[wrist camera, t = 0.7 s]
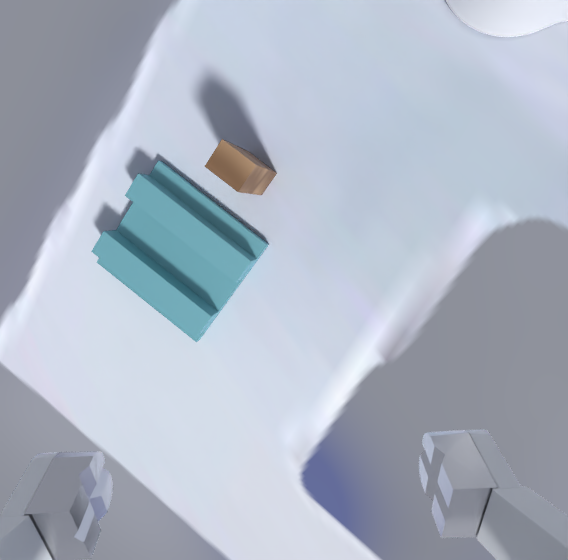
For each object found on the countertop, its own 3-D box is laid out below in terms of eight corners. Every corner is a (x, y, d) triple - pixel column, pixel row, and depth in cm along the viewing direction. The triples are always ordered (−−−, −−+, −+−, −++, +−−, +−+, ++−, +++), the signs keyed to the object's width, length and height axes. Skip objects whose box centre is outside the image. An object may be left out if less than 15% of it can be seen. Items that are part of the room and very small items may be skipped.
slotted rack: (162, 161, 50) (147, 158, 46) (268, 244, 49) (261, 246, 45) (101, 261, 53) (83, 264, 50) (199, 339, 52) (188, 348, 49)
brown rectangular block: (248, 151, 47) (222, 138, 39) (276, 173, 47) (256, 165, 38) (234, 174, 48) (204, 166, 39) (261, 195, 48) (237, 191, 39)
